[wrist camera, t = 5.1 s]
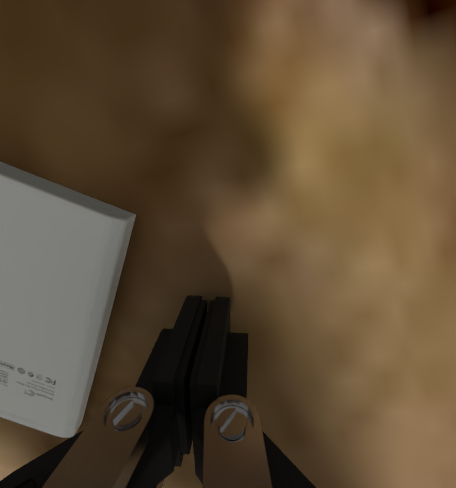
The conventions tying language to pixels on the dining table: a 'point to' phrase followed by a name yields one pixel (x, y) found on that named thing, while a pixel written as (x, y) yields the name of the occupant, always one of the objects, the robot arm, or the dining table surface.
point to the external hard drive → (54, 297)
